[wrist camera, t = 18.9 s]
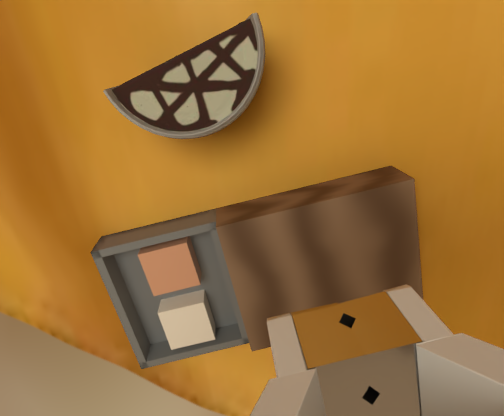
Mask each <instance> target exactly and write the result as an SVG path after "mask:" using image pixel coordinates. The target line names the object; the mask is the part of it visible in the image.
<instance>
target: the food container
mask: <svg viewBox="0 0 504 416" xmlns="http://www.w3.org/2000/svg"><path fill="white" fill-rule="evenodd" d="M264 62H265V40H264V35H263V29H262V25H261V22H260V19H259V16H258V13H254V14H251V15H250V16H249V17H248V18H247V19H246V20H245V21H243V22H241V23H239V24H238V25H236V26H234V27H233V28H231V29H229V30H227V31H225V32H223V33H221V34H219V35H217V36H215V37H213V38H211V39H209V40H207V41H205V42H203V43H202V44H200V45H197V46H195V47H194V48H192V49H190V50H188V51H186V52H184V53H182V54H180V55H178V56H175V57H174V58H172V59H170V60H168V61H166V62H165V63H163V64H161V65H159V66H157V67H155V68H153V69H151V70H149V71H147V72H145V73H143V74H141V75H139V76H137V77H135V78H133V79H131V80H129V81H127V82H125V83H123V84H122V85H120V86H116V87H113V88H109V89H105V90H104V91H103V92H104V93H105V95H106V96H107V98H108V99H109V100H110V102H111V103H112V104H113V105H114V106H115V107H116V109H117V110H118V111H119V112H120V113H121V114H123V115H124V116H125V117H126V118H127V119H129V120H130V121H131V122H133V123H134V124H136V125H138V126H139V127H141V128H143V129H145V130H147V131H149V132H152V133H154V134H157V135H161V136H165V137H169V138H177V139H192V138H199V137H203V136H208V135H210V134H213V133H215V132H218V131H220V130H222V129H223V128H225V127H227V126H228V125H230V124H231V123H232V122H234V121H235V120H236V119H237V118H238V117H239V116H240V115H241V114H242V113H243V112H244V111H245V110H246V108H247V107H248V106H249V104H250V103H251V101H252V99H253V98H254V96H255V94H256V92H257V89H258V87H259V85H260V82H261V78H262V74H263V70H264Z"/></svg>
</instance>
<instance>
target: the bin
mask: <svg viewBox="0 0 504 416" xmlns="http://www.w3.org/2000/svg"><path fill="white" fill-rule="evenodd" d="M187 236H190V239H191V242H192V245H193V248H194V251H195V254H196V257H197V260H198V263H199V266H200V269H201V272H202V273H201V285H198V286H193V287H189V288H185V289H181V290H177V291H173V292H169V293H165V294H161V295H157V296H153V293H152V291H151V288H150V285H149V283H148V280H147V278H146V275H145V273H144V270H143V268H142V265H141V262H140V260H139V257H138V253H139V250H140V248H142V247H146V246H150V245H154V244H158V243H163V242H167V241H171V240H175V239H179V238H183V237H187ZM91 254H92V256H93V259H94V261H95V263H96V266H97V268H98V270H99V273H100V275H101V277H102V279H103V282H104V284H105V286H106V289H107V291H108V293H109V296H110V298H111V300H112V302H113V305H114V307H115V309H116V312H117V314H118V316H119V318H120V321H121V323H122V325H123V328H124V330H125V332H126V335H127V337H128V339H129V341H130V344H131V346H132V348H133V351H134V353H135V355H136V358H137V360H138V362H139V364H140V367H141V369H144V368H148V367H152V366H156V365H160V364H164V363H168V362H172V361H176V360H181V359H185V358H189V357H193V356H197V355H201V354H205V353H209V352H213V351H218V350H222V349H226V348H230V347H234V346H238V345H242V344H246V343H249V340H248V336H247V333H246V329H245V326H244V323H243V319H242V316H241V312H240V309H239V305H238V302H237V298H236V295H235V291H234V288H233V285H232V281H231V278H230V274H229V271H228V267H227V264H226V260H225V257H224V254H223V250H222V247H221V243H220V240H219V236H218V233H217V229H216V209H212V210H208V211H204V212H200V213H196V214H192V215H188V216H184V217H180V218H176V219H171V220H167V221H163V222H159V223H155V224H151V225H147V226H143V227H139V228H135V229H131V230H127V231H122V232H118V233H114V234H110V235H106V236H102V237H101V238H100V239H99V241H98V242H97V244H96V245H95V247H94V248H93V250H92V251H91ZM200 290H205V293H206V296H207V299H208V303H209V306H210V309H211V312H212V315H213V319H214V322H215V325H216V327H215V340H211V341H207V342H202V343H198V344H194V345H190V346H185V347H181V348H177V349H173V350H171V348H170V345H169V342H168V340H167V337H166V334H165V332H164V329H163V326H162V324H161V321H160V319H159V316H158V309H159V305H160V301H161V300H162V299H166V298H170V297H174V296H178V295H183V294H187V293H191V292H195V291H200Z"/></svg>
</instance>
